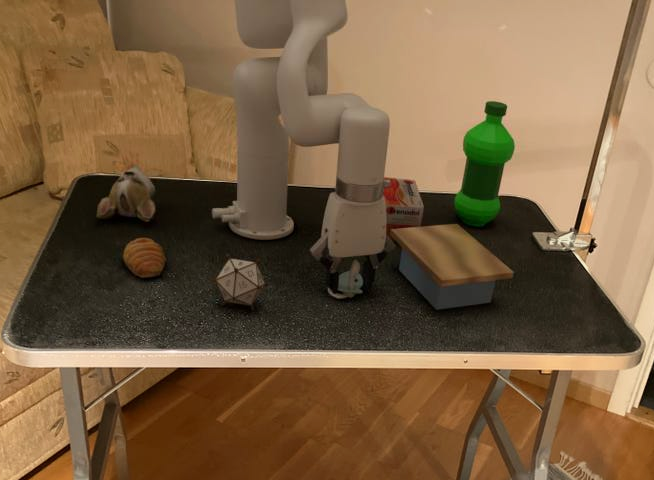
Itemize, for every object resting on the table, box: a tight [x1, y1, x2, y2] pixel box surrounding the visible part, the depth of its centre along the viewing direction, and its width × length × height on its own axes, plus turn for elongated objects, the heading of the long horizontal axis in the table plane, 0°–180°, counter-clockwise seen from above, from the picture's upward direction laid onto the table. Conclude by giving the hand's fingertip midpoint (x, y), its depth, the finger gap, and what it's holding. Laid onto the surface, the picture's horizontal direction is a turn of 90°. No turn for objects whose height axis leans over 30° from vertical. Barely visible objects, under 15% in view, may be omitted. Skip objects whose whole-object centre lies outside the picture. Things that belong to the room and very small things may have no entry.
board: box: [390, 223, 515, 287], centre depth 132 cm, size 14×20×1 cm
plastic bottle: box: [453, 100, 516, 227], centre depth 155 cm, size 10×10×25 cm
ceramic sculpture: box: [95, 164, 157, 223], centre depth 143 cm, size 11×9×15 cm
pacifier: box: [327, 259, 363, 300], centre depth 128 cm, size 7×6×6 cm
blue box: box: [398, 247, 496, 310], centre depth 134 cm, size 11×15×6 cm
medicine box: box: [383, 176, 425, 243], centre depth 152 cm, size 15×8×8 cm, turn 6°
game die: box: [209, 252, 271, 311], centre depth 120 cm, size 9×8×10 cm
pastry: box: [122, 237, 167, 279], centre depth 127 cm, size 9×7×4 cm
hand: (349, 287), depth 129 cm, fingers closed on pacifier, 5 cm apart
